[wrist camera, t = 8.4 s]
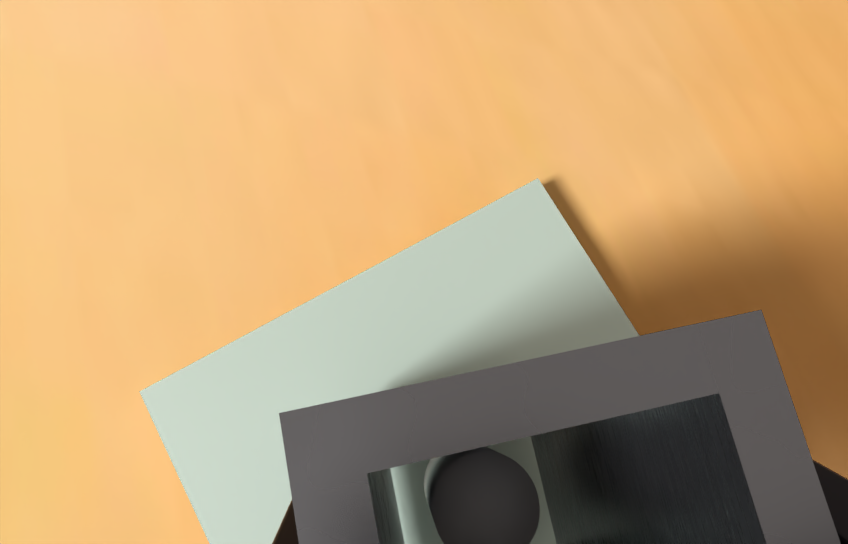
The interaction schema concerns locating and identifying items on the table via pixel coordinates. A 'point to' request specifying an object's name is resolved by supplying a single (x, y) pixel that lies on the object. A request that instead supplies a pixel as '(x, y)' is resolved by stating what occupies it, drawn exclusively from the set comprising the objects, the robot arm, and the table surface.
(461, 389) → the square open box
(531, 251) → the pin board
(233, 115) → the table surface
